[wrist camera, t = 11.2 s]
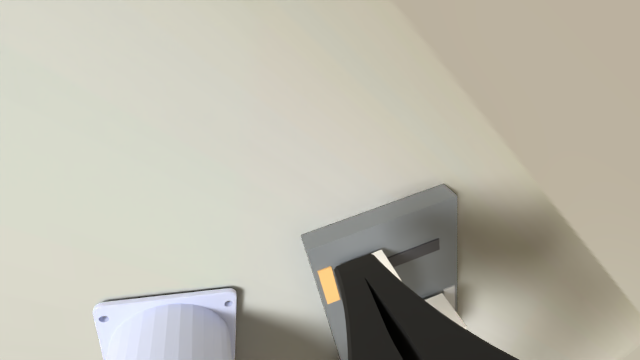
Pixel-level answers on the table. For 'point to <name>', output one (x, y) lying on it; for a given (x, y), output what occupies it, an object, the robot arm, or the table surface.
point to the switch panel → (390, 250)
